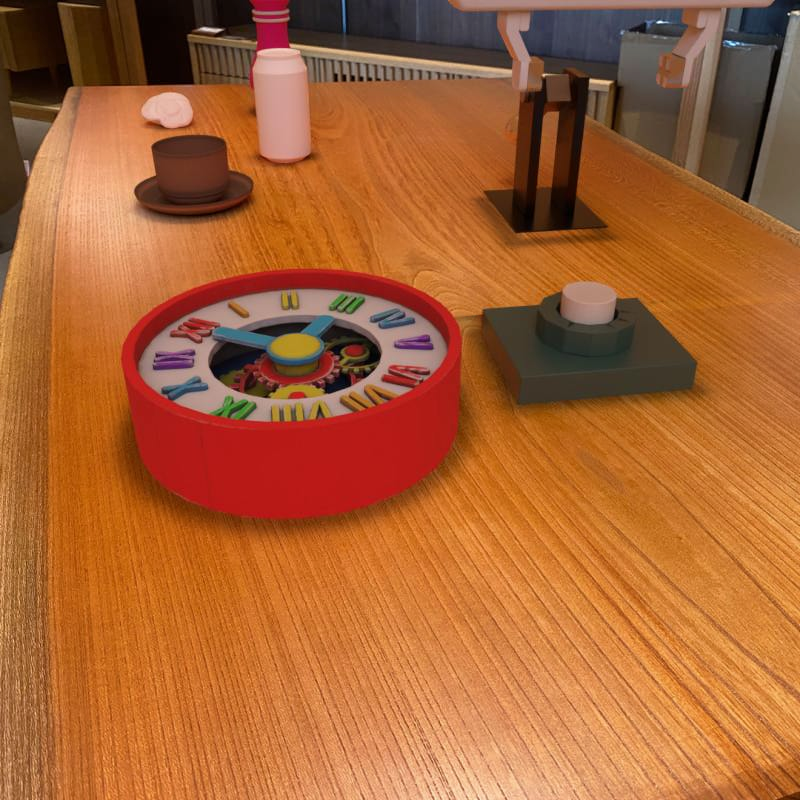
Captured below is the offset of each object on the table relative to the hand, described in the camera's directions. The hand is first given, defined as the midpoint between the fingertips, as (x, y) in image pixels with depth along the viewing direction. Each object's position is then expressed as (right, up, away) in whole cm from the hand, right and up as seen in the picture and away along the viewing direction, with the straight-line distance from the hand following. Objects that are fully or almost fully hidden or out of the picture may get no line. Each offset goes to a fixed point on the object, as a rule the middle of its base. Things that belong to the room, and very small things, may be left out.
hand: (599, 88), depth 52 cm
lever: (+1, +7, +30) cm, 31 cm away
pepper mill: (-30, +22, +68) cm, 78 cm away
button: (0, -14, +5) cm, 15 cm away
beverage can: (-26, +10, +49) cm, 56 cm away
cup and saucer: (-33, +1, +35) cm, 49 cm away
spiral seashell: (-44, +18, +62) cm, 78 cm away
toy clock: (-19, -21, +1) cm, 28 cm away
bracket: (+2, -1, +31) cm, 31 cm away
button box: (0, -17, +7) cm, 18 cm away
